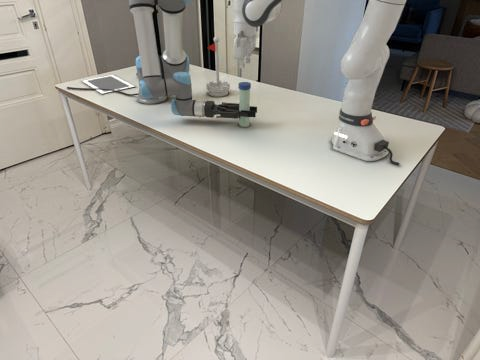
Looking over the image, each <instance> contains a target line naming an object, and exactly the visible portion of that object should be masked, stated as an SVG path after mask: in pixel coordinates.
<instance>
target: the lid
mask: <svg viewBox="0 0 480 360" xmlns="http://www.w3.org/2000/svg"><path fill="white" fill-rule="evenodd" d="M237 85H238V87H237V88H238V90H239V89H241V90H248V89H250V90H251V89H252V83H251V82H248V81H241V82H238V84H237Z"/></svg>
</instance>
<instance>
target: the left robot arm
mask: <svg viewBox="0 0 480 360" xmlns="http://www.w3.org/2000/svg"><path fill="white" fill-rule="evenodd" d="M190 3H191V2H190V0H128V5H129V11H130V13H131V14H132V16H133V22H134V29H135V34H136V35H135V36H136V40H137V47H138V53H139V55H138V56H137V57H136V58H135V68H136V73H137V74H138V76H137V79H138V86H139V87H138V92H137V93H127V92H123V91H121V90H119V91H116V90H111V89H98V88H91V87H73V86H72V87H71V86H67V87H66V89H70V90H80V91H83V90H84V91H96V90H110V91H114V92H113V93H119V94H121V95H126V96H128V97H129V96H130V97H133V96H137V101H138V102H139V103H140V104H144V105H155V104H160V103H163V102H165V101H167V100H168V97H175V98H173V99H172V100H171V103H170V111H171V113H172V115H174V116H180V117H197V118H199V119H201V118H210V119H211V118H212V119H213V118H214V117H215V118H216V119H221V118H222V119H235V120H236V119H238V120H239V119H240V118H241V117H250V118H256V116H257V113H258V106H252V105H250V111H247V110H241V112H240V111H239V103H237V102H236V103H235V102H234V103H232V102H225V101H222V102H221V103H219V104H216V102H215V101H214V100H205V99H193V90H192V78H191V74H190V58H189V55H188V54H187V53H186V51H185V50H184V34H183V33H184V32H183V30H184V28H183V12H185V10H186V8H187V5H189V4H190ZM154 6H158V8H159V10H160V11H161V12H162V21H163V34H164V47H165V49H164V51H163V52H162V55H159V54H158V53H159V52H158V47H157V38H156V32H155V26H154V25H155V24H154V19H153V13H154V11H155V7H154Z"/></svg>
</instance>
